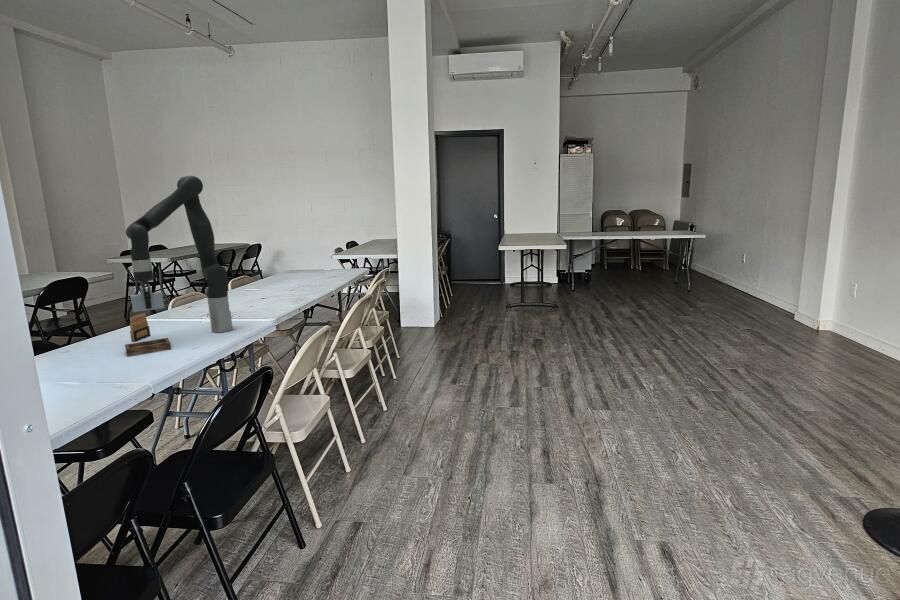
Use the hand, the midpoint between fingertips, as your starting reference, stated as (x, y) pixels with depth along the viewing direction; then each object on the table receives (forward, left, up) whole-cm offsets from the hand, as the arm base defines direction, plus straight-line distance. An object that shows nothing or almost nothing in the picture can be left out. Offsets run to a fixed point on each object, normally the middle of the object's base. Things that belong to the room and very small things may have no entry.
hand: (148, 307), depth 229 cm
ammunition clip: (+4, -15, -17) cm, 23 cm away
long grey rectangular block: (0, 0, -1) cm, 1 cm away
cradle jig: (+3, +10, -17) cm, 20 cm away
